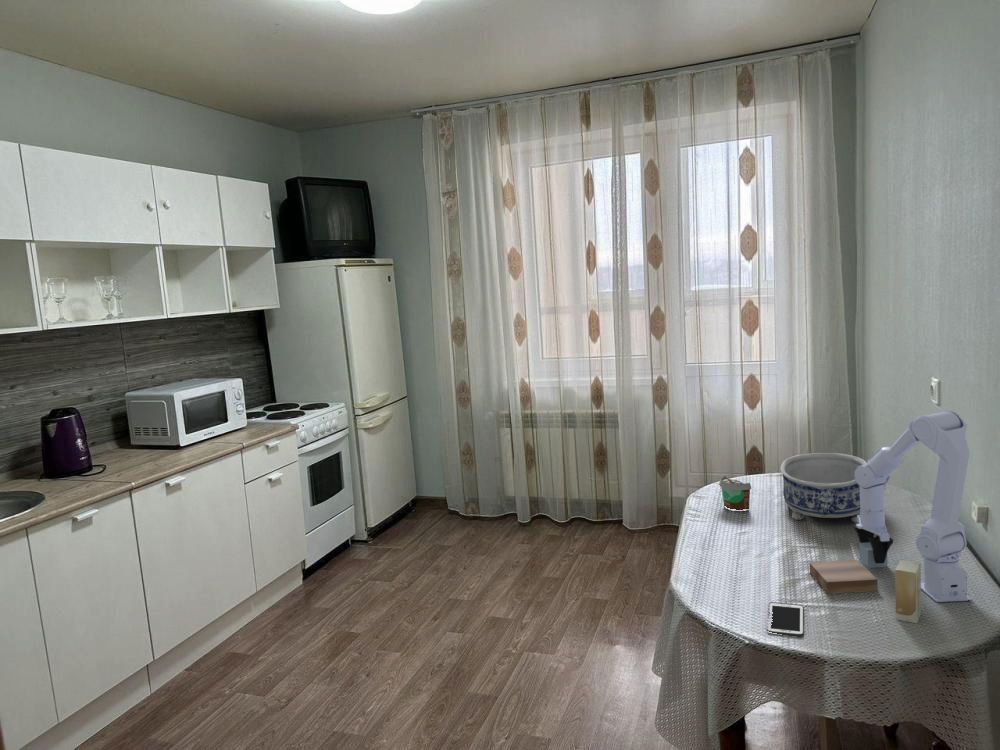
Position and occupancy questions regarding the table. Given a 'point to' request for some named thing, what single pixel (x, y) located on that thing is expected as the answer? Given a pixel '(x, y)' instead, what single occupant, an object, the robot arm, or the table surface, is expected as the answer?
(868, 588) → the walnut base
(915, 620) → the skincare box
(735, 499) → the food container
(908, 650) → the table surface
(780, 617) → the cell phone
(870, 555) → the slate cube
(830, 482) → the decorative bowl
